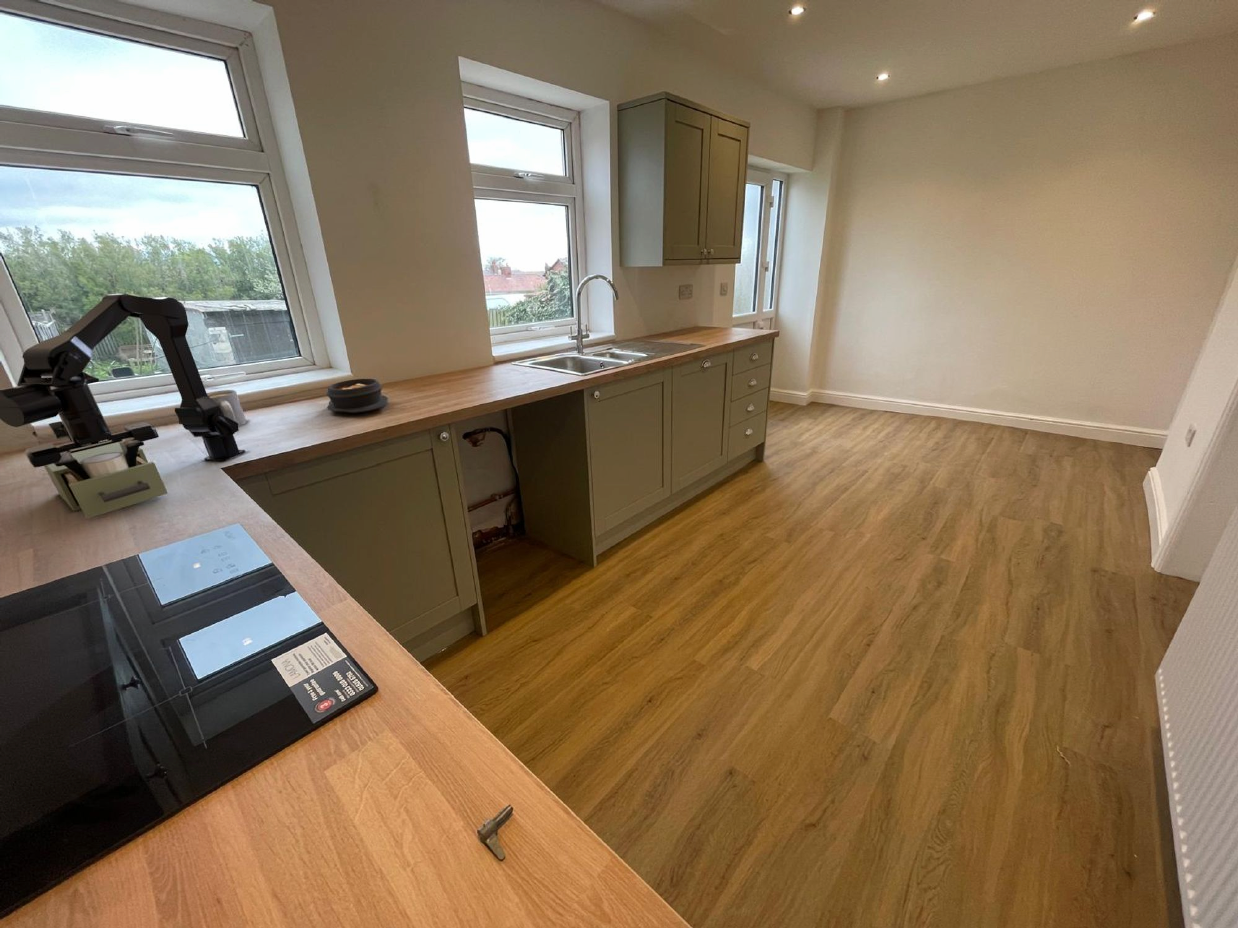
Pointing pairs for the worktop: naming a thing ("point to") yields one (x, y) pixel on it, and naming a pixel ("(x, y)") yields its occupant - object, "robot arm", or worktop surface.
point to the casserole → (356, 396)
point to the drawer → (116, 488)
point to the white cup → (104, 464)
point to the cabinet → (57, 472)
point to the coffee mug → (229, 405)
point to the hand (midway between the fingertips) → (114, 481)
